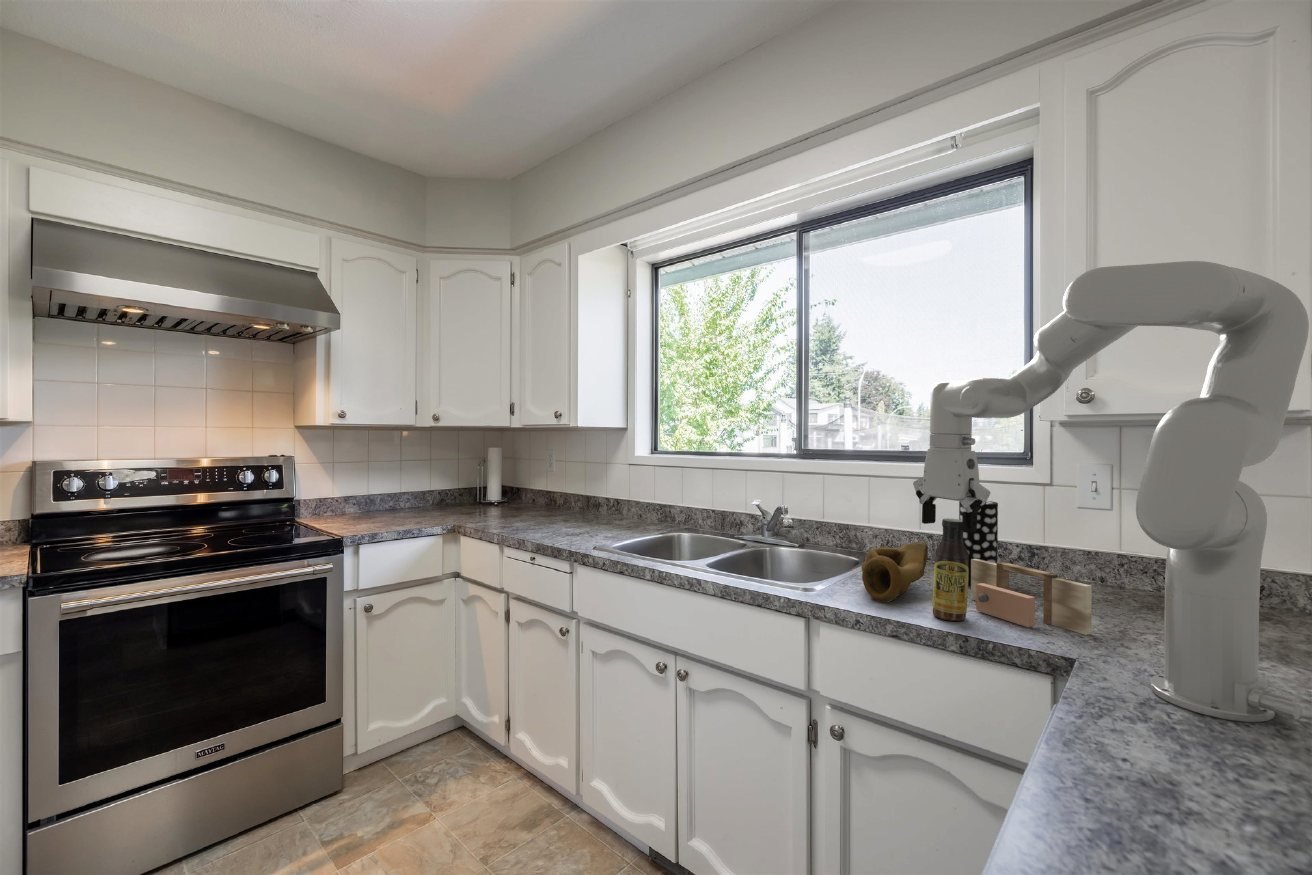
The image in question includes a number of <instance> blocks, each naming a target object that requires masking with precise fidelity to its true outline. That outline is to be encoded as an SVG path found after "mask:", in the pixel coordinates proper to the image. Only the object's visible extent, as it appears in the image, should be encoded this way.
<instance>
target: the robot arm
mask: <svg viewBox="0 0 1312 875" xmlns="http://www.w3.org/2000/svg"><path fill="white" fill-rule="evenodd" d="M1062 307H1063V311H1062V312H1061V313H1060V314H1058V315H1057V316H1056V317H1054V318H1053V319H1052V320H1051V321H1049V322H1048V323H1047V324H1045V325H1044V326H1042V327H1041V328H1040V329H1038V330H1037V331H1036V333H1035V335H1034V337H1033V342H1034V346H1035V348H1036V350H1037V352H1036V354H1035V356H1034V357H1033V358H1032V359H1031V360H1030V362H1028V363H1027V364H1025V365H1024V366H1023V367H1022V368H1021V369H1019V370H1017V372H1015V373H1013V374H1012V375H1011V376H1009V377H1007V378H998V377H997V378H995V377H992V378H991V377H976V378H974V377H973V378H969V379H965V380H949V381H947V380H946V381H945V380H944V381H937V382H934V383H933V384H932V385H931V388H930V409H929V410H930V412H929V415H930V417H929V419H930V420H929V448H927V450H926V454H925V460H924V465H923V466H924V467H923V476H922V477H920V478H918V479H916V480H914V481H913V483H912V485H913V488H914V490H915V495H916V497H917V498H918V500H919V504H920V505H921V523H922V524H924V525H925V524H926V525H927V524H934V523H936V512H937V510H936V509H937V507H936V506H937V505H936V503H934V502H935V501H936V500H937V499H943V500H948V501H949V500H950V501H957V502H959V501H960V502H961V504H962V505H963V507H964V509H965V510H966V512H963V517H962V531H963V532H965V533H968V532H976V530H977V512H979V511H980V510H981V508H982V507H983V506H984V505H985V504H986V501H988V499H989V497H990V496H991V491H990V490H989V489H987V488H986V487H985V486H983V485H982V484H980V472H979V463H978V462H979V461H978V457H977V453H976V451H975V450H972V446H975V444H976V439H975V438H974V437H972V436H973V435H972V433H973V432H972V431H973V418H975V419H994V418H995V419H1009V418H1010V419H1011V418H1014V417H1017V416H1020V415H1022V414H1024V413H1026V412H1028V411H1030V410H1031V409H1033V408H1034V407H1036V406H1037V405H1039V404H1041V403H1042V402H1043V401H1045V400H1046V399H1048V398H1049V397H1051V396H1052V395H1054V394H1055V393H1056V392H1057V391H1058V390H1059V389H1060V388H1061V387H1062V386H1063V384H1064V383H1065V382H1066V381H1067V380H1068V378H1069V377H1070V376H1071V375H1072V373H1073V371H1074V370H1076V368H1077V367H1079V366H1080V365H1082V364H1084V362H1086V361H1088V360H1089V359H1091V358H1092V357H1093V356H1094V355H1096V354H1098V353H1099V352H1101V351H1102V350H1103V349H1105V348H1106V347H1108V346H1109V345H1111V344H1113V343H1115V342H1116V341H1118V340H1119V339H1121V338H1122V337H1123V336H1125V335H1127V334H1128V333H1130V332H1131V331H1132V330H1135V328H1137V327H1141V326H1142V327H1171V328H1172V327H1176V328H1185V329H1192V330H1193V329H1194V330H1200V331H1208V332H1213V333H1215V334H1217V335H1218V337H1219V343H1218V346H1217V348H1216V350H1215V351H1214V353H1213V355H1212V356H1211V358H1210V361H1209V363H1208V366H1207V369H1206V373H1205V379H1204V382H1203V385H1202V389H1201V392H1200V395H1199V397H1197V398H1195V397H1194V398H1193V399H1188V400H1185V401H1183V402H1181V403H1179V404H1176V405H1175V406H1174V407H1172V408H1171V409H1169V410H1168V411H1167V412H1166V413H1165V414H1164V416H1163V417H1161V419H1160V420H1159V422H1158V423H1157V426H1156V428H1155V430H1154V431H1153V435H1152V438H1151V442H1150V444H1149V449H1148V451H1147V452H1148V453H1147V457H1146V461H1145V464H1144V468H1143V471H1142V476H1141V481H1140V484H1139V486H1138V490H1137V495H1136V501H1135V502H1136V503H1135V514H1136V516H1135V517H1136V520H1137V522H1138V524H1139V527H1140V529H1141V530H1142V531H1143V532H1144V534H1146V536H1147V537H1149V538H1150V539H1151V540H1152V541H1153V542H1155V543H1157V544H1158V545H1161V546H1163V547H1165V548H1168V550H1167V554H1166V559H1165V560H1166V561H1165V570H1164V571H1165V572H1164V574H1165V576H1164V578H1165V579H1164V634H1163V635H1164V638H1163V639H1164V643H1163V645H1164V649H1163V650H1164V651H1163V652H1164V653H1163V654H1164V655H1163V673H1161V674H1155V675H1154V676H1153V675H1152V677H1151V678H1150V679H1149V686H1150V687H1149V688H1150V689H1151V691H1152V692H1153V693H1154V694H1155V695H1156V696H1158V697H1159V698H1161V699H1162V700H1164V701H1167V702H1168V703H1170V704H1173V705H1175V706H1178V707H1180V708H1183V709H1184V710H1185V709H1186V710H1189V711H1192V712H1195V713H1198V714H1203V715H1206V716H1208V717H1214V718H1218V719H1224V720H1229V721H1235V722H1245V723H1261V722H1267V721H1270V720H1273V719H1274V718H1275V716H1276V715H1275V714H1278V715H1280V716H1281V715H1282V716H1284V717H1287V718H1289V719H1294V720H1298V719H1299V718H1300V717H1301V713H1302V707H1301V704H1299V703H1298V702H1297V699H1296V698H1293V697H1290V696H1287V695H1284V694H1279V693H1276V692H1273V690H1271V688H1269V678H1265V677H1262V676H1259V648H1260V646H1259V640H1260V638H1259V636H1260V635H1259V634H1260V632H1259V631H1260V628H1259V627H1260V596H1261V594H1260V592H1261V567H1262V566H1261V565H1262V556H1263V551H1264V550H1263V549H1264V544H1265V539H1266V534H1267V526H1268V513H1267V509H1266V505H1265V503H1264V501H1263V499H1262V497H1261V496H1260V495H1259V493H1258V492H1257V491H1256V490H1254V489H1253V487H1252V486H1250V485H1249V484H1247V483H1245V482H1243V481H1242V480H1240V477H1241V474H1242V471H1243V468H1245V467H1251V466H1255V465H1257V464H1260V463H1263V462H1264V461H1265V460H1267V459H1268V458H1269V457H1271V456H1272V455H1273V454H1274V452H1275V451H1276V449H1277V448H1278V446H1279V444H1280V440H1281V435H1282V432H1283V427H1284V424H1285V421H1286V416H1287V414H1288V411H1289V407H1290V405H1291V404H1290V403H1291V401H1292V398H1293V394H1294V389H1295V387H1296V381H1297V377H1298V373H1299V369H1300V367H1301V364H1302V363H1301V362H1302V360H1303V356H1304V353H1305V350H1306V346H1307V342H1308V339H1309V338H1308V337H1309V330H1310V325H1309V324H1310V322H1309V316H1308V312H1307V309H1306V307H1305V305H1304V303H1303V301H1301V299H1300V298H1299V297H1298V296H1297V294H1295V292H1293V291H1292V290H1291V289H1290V288H1288V287H1287V286H1285V285H1283V284H1281V283H1279V282H1278V281H1275V280H1274V279H1271V278H1269V277H1266V276H1263V275H1261V274H1258V273H1255V272H1252V271H1248V270H1245V269H1241V268H1239V267H1232V266H1228V265H1225V264H1224V265H1223V264H1220V263H1217V262H1211V261H1203V260H1201V261H1200V260H1187V261H1186V260H1185V261H1171V262H1161V263H1160V262H1159V263H1142V264H1129V265H1113V266H1112V265H1110V266H1101V267H1096V268H1094V269H1093V268H1092V269H1090V270H1088V271H1085V272H1083V273H1082V274H1080V275H1078V277H1076V278H1075V279H1073V281H1072V282H1071V283H1070V284H1069V285H1068V287H1067V288H1066V290H1065V292H1064V295H1063V298H1062ZM968 501H969V502H968Z"/></svg>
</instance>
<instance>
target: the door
mask: <svg viewBox="0 0 1312 875" xmlns="http://www.w3.org/2000/svg"><path fill="white" fill-rule="evenodd" d="M975 603H976V604H975V605H976V607H975V608H976V609H975V610H976V612H980V613H982V614H986V615H989V616H991V617H996V618H999V619H1002V620H1005V621H1008V622H1011V623H1014V624H1017V625H1020V626H1023V627H1026V628H1030V627H1034V626H1036V597H1035V596H1032V595H1028V594H1026V593H1025V594H1024V593H1022V592H1017V591H1014V590H1010V589H1009V590H1007V589H1003V588H999V587H996V586H992V585H989V584H985V583H980V584H976V601H975Z"/></svg>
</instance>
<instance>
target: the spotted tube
mask: <svg viewBox="0 0 1312 875" xmlns="http://www.w3.org/2000/svg"><path fill="white" fill-rule="evenodd" d="M968 502H969V501H968ZM963 512H966V510H965V509H964V507H963V505H962V504H961V502H960V501H958V514H959V515H958V519H959V520H962V517H963ZM998 525H999V503H998V502H997V501H990V500H987V501H986V504H985V505H984V506H983V507H982V508H981V510H980V511H979V512H977V530H976V532H968V533H965V532H963V544H964V546H965V548H966V549H967V551H968V553H969V562H968V568H969V574H968V585H969V586H968V587H971V559H979V560H984V561H988V562H992V563H996V564H997V563H999V561H998V559H999V557H998V555H999V552H998V548H999V546H998V545H999V544H998V542H999V535H998V534H999V526H998Z"/></svg>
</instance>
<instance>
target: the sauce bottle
mask: <svg viewBox="0 0 1312 875" xmlns="http://www.w3.org/2000/svg"><path fill="white" fill-rule="evenodd" d="M941 526H942V537H941V539H942V540H941V541H940V543H939V544H938V546H937V547H936V548H935V558H934V565H933V585H932V604H931V605H932V615H933V616H934V617H936V618H938V619H941V620H945V621H949V622H950V621H952V622H953V621H954V622H962V621H964V620H965V619H966V617H967V610H968V592H969V591H968V589H969V586H968V574H969V568H968V562H969V553H968V551H967V549H966V548H965V546H964V544H963V531H962V520H959V518H957V519H956V518H943V519H942V521H941Z"/></svg>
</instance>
